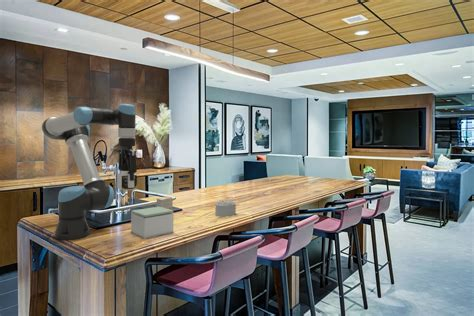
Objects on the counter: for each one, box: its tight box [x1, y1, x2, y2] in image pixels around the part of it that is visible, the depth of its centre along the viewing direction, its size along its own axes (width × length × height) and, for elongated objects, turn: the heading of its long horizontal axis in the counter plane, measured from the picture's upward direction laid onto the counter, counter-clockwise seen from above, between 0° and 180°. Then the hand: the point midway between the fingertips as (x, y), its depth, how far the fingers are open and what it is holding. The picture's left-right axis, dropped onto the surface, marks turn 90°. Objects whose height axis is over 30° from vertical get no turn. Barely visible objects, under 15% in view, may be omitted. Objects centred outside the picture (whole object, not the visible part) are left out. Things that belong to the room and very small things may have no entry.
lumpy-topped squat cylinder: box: [214, 199, 237, 218], centre depth 213 cm, size 10×13×9 cm
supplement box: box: [156, 196, 174, 211], centre depth 197 cm, size 8×5×13 cm, turn 141°
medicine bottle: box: [117, 163, 138, 191], centre depth 159 cm, size 7×7×12 cm
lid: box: [130, 206, 174, 217], centre depth 171 cm, size 16×14×1 cm
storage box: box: [130, 212, 174, 240], centre depth 172 cm, size 16×14×10 cm
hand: (127, 186), depth 159 cm, fingers closed on medicine bottle, 7 cm apart
